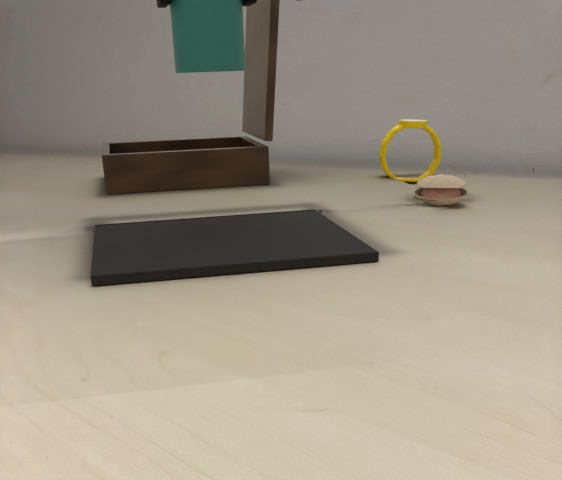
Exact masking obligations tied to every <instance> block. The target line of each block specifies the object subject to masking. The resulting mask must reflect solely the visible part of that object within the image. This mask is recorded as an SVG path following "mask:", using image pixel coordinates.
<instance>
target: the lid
mask: <svg viewBox="0 0 562 480" xmlns="http://www.w3.org/2000/svg"><path fill="white" fill-rule="evenodd" d="M295 1H297V2H301V1H303V0H295ZM245 7H246V8H245V9H246V10H245V11H246V12H245V33H244V49H245V71H243V95H242V97H243V98H242V121H241V122H242V127H241V128H242V129H241V132H243V133H245V134H248V135H250V136H252V137H255V138H257V139H259V140H261V141H264V142H273V140H274V124H275V123H274V122H275V121H274V120H275V103H276V102H275V100H276V82H277V81H276V80H277V59H278V44H279V43H278V42H279V41H278V40H279V23H280V21H279V20H280V0H257V2H256V3H255V4H253V5H251V6H245Z"/></svg>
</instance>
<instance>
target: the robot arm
mask: <svg viewBox="0 0 562 480" xmlns="http://www.w3.org/2000/svg"><path fill="white" fill-rule="evenodd" d="M171 2H172V0H156V5H157V6H156V7H157V9H166V8H168V6H170V3H171ZM256 2H257V0H242V7H246V6H251V5H253V4H255V3H256Z"/></svg>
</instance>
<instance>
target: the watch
mask: <svg viewBox="0 0 562 480" xmlns="http://www.w3.org/2000/svg"><path fill="white" fill-rule="evenodd" d="M428 124H429V123H428V120H427V119H416V118H415V119H414V118H413V119H412V118H404V119H399V120H398V124H397V125H395V126H393V127H392V128H390V130H388V132H387V133H386V134H385V136H384V138H383V139H382V140H381V143H380V147H379V152H378V160H379V164H380V167H381V170H382V172H383V173H384V174H385V176H387V177H389V178H391V179H394V180H396V181H400V182H402V183H417V182H418V181H420V180H422V179H424V178H425V177H427V176H433V175H435V173H436V171H437V169H438V167H439V165H440V163H441V160H442V143H441V141H440V138H439V136H438V134H437V132H436V131H435V130H434V129H433V128H431V127H430V126H429V125H428ZM404 129H422V131H424V132H425V133H426V134H428V135H429V137H430V139H431V142H432V145H433V157H432V160H431V162H430V164H429V166H428V167H427V170H425V172H423V173H422V174H421V175H419V176H418V177H403V176H401V177H400V176H395V175H394V174H393V172H392V171H390V168H389V165H388V162H387V159H386V158H387V152H388V148H389V147H388V145H389V144H390V142H391V141H392V139H393V138H394V136H395V135H396V134H397V133H399V132H401V131H403V130H404Z"/></svg>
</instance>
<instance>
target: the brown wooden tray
mask: <svg viewBox="0 0 562 480" xmlns="http://www.w3.org/2000/svg"><path fill="white" fill-rule="evenodd" d="M269 149H270V147H269V146H268V145H266V144H264V143H262V142H259V141H258V140H255V139H253V138H251V137H248V136H246V135H237V136H235V135H233V136H218V137H197V138H196V137H195V138H193V137H192V138H179V139H178V138H174V139H155V140H154V139H153V140H135V141H134V140H133V141H115V142H113V141H112V142H103V143H102V147H101V162H102V169H103V170H102V171H103V178H104V186H105V193H106V196H117V195H130V194H131V195H133V194H134V195H135V194H147V193H164V192H179V191H180V192H181V191H182V192H183V191H195V190H211V189H212V190H213V189H227V188H228V189H229V188H242V187H245V188H246V187H257V186H258V187H261V186H270V185H271V178H270V176H271V175H270V173H271V172H270V150H269Z"/></svg>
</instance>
